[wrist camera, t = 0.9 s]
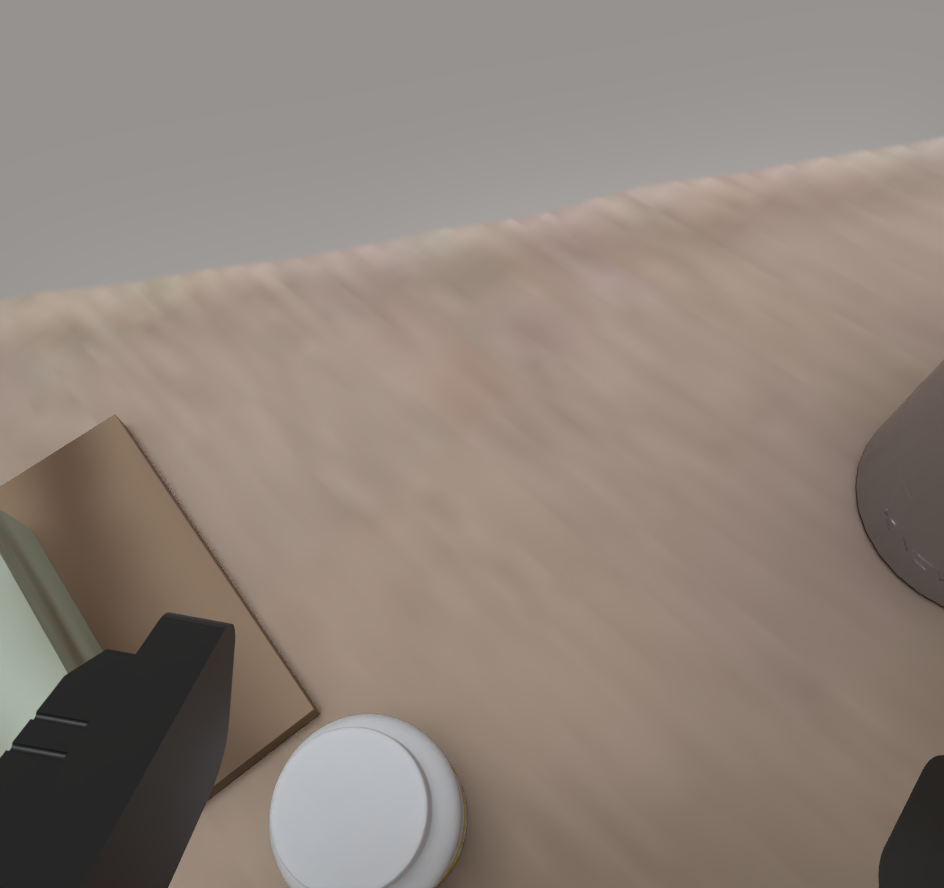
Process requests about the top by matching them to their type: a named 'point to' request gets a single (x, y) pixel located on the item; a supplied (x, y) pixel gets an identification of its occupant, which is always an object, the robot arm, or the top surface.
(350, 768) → the supplement bottle
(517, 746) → the top surface
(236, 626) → the pedestal
